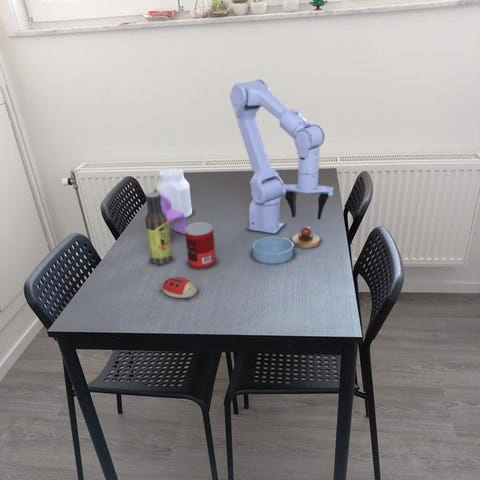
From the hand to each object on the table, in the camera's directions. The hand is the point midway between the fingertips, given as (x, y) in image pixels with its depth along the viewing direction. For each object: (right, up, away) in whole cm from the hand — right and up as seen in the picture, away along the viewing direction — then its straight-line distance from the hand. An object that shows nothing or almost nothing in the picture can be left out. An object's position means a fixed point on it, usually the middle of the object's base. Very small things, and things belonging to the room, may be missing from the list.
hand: (306, 217), depth 144 cm
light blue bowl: (-10, -11, -2) cm, 15 cm away
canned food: (-31, -14, -4) cm, 34 cm away
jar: (-43, +7, +29) cm, 52 cm away
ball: (0, -4, +3) cm, 5 cm away
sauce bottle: (-43, -13, -2) cm, 45 cm away
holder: (0, -7, +4) cm, 8 cm away
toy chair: (-42, -4, +13) cm, 44 cm away
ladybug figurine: (-36, -24, -18) cm, 46 cm away
